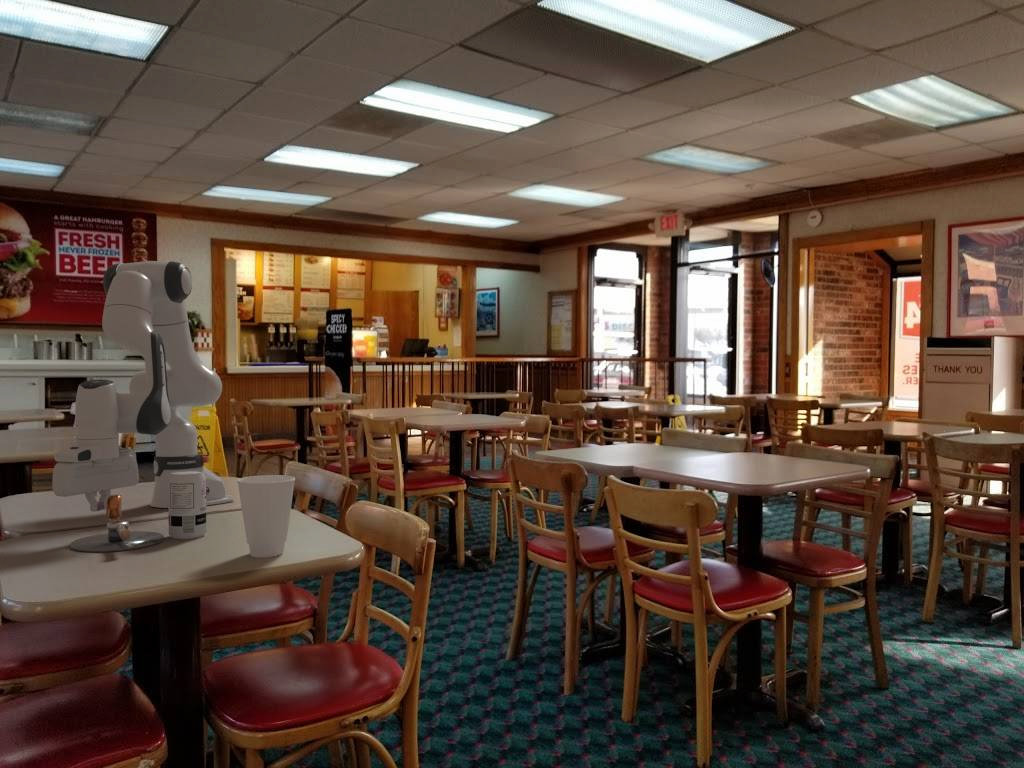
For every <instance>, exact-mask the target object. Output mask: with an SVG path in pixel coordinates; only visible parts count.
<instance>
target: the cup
mask: <svg viewBox="0 0 1024 768" xmlns="http://www.w3.org/2000/svg"><path fill="white" fill-rule="evenodd" d="M295 481H296V478H295V476H291V475H283V474H282V475H281V474H269V475H268V474H267V475H266V474H265V475H253V476H251V475H250V476H246V477H240V478H238V479H237V481H236V482H237V487H238V493H239V499H240V506H241V512H242V519H243V524H244V525H243V527H244V531H245V532H244V533H245V538H246V543H247V545H248V549H249V555H250V556H251V557H252V558H253V557H254V558H273V556H274V557H278V555H279V556H281V554H282V555H283V554H284V553H285V546H286V545H285V543H286V542H287V541H288V533H289V526H290V525H289V524H290V520H291V519H290V518H291V517H290V516H291V510H292V504H293V503H292V502H293V495H294V487H295Z"/></svg>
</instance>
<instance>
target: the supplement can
mask: <svg viewBox="0 0 1024 768" xmlns="http://www.w3.org/2000/svg"><path fill="white" fill-rule="evenodd" d="M167 509H168V511H167V512H168V513H167V514H168V518H167V519H168V536H170V537H171V539H174V540H192V539H198V538H202V537H204V535H205V534H206V533H207V505H206V477H205V475H204V474H203V471H177V472H172V473H171V476H170V478H169V479H168V508H167Z"/></svg>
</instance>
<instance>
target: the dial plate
mask: <svg viewBox="0 0 1024 768" xmlns="http://www.w3.org/2000/svg"><path fill="white" fill-rule="evenodd" d="M126 530H129V528H126ZM129 531H130V540H126V541H123V540H122V538H121V537H120V535H119V534H118V532H117V531H116V530H108V529H107V533H100V534H99V533H98V534H94V535H93V534H92V535H89V536H84V537H80V538H78V539H74V540H73V541H71V542H70V544H69V545H70V549H71V550H73V551H76V552H82V553H115V552H116V553H117V552H125V551H132V550H139V549H144V548H148V547H153V546H155V545H158V544H160V543H163V541H164V540H165V536H164V534H162V533H159V532H156V531H155V532H154V531H148V530H147V531H144V530H143V531H141V530H135V531H134V530H133V531H132V530H129Z"/></svg>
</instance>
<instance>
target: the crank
mask: <svg viewBox="0 0 1024 768" xmlns="http://www.w3.org/2000/svg"><path fill="white" fill-rule="evenodd" d="M105 517H106V519H108V522H107V523H106V529H107V531H108V530H116V531H117V532H118V534H119V535H120V537H121V538H122V540H123V541H126V540H130V531H131V530H129V528H130V526H129V525H130V524H129V521H128V520H121V519H120V518H122V495H121V494H110V496H109V498H108V500H107V502H106V509H105ZM126 528H128V530H126Z"/></svg>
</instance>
